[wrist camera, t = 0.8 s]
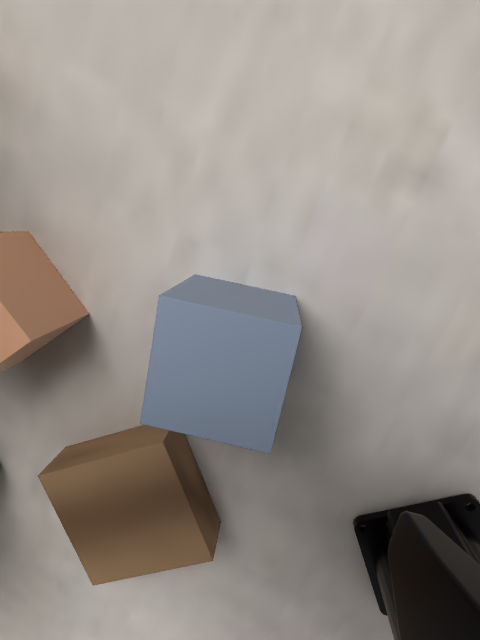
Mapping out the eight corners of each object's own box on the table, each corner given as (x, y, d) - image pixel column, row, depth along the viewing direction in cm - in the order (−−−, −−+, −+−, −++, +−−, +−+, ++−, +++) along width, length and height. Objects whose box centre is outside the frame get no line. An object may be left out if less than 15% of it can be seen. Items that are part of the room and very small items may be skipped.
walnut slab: (221, 517, 23) (212, 560, 20) (115, 541, 24) (92, 585, 21) (178, 412, 21) (163, 442, 18) (68, 443, 23) (37, 475, 20)
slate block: (295, 295, 19) (302, 326, 13) (272, 388, 20) (270, 453, 14) (195, 274, 19) (159, 295, 13) (179, 367, 20) (140, 423, 15)
